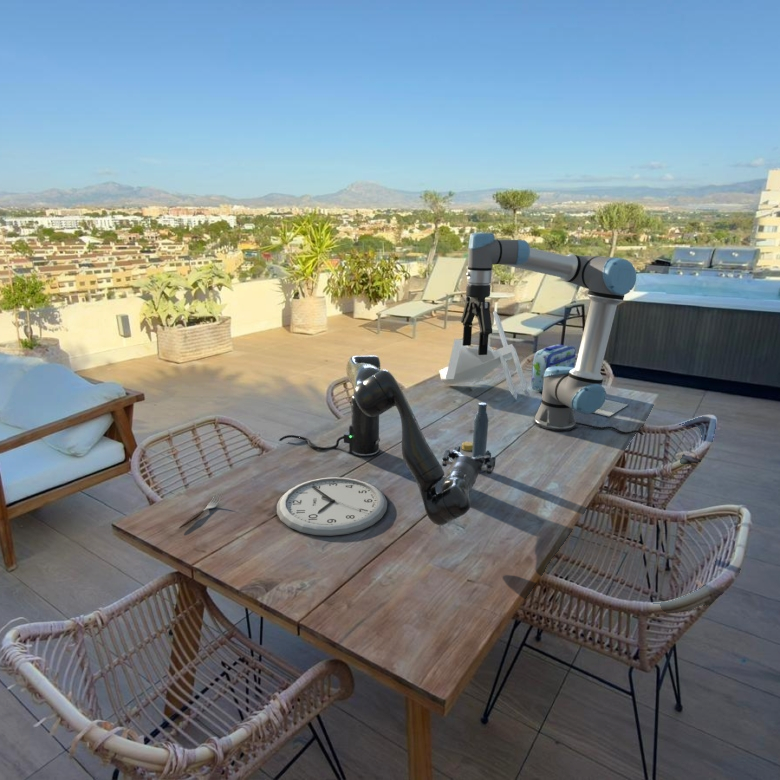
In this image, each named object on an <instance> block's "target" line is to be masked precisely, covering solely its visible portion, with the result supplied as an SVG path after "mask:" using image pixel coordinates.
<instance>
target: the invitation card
mask: <svg viewBox="0 0 780 780" xmlns="http://www.w3.org/2000/svg"><path fill="white" fill-rule="evenodd" d="M628 406H629V404H627V403H623V402H618V401H614V400H609V399H607V398H606V399H605V402H604V404H603V405H602V406H601V408H600V409H597V410H596V411H595V412H593V413H592V414H596V415H600V416H604V417H608V418H609V417H611V416H613V415H614V414H616V413H617V412H619V411H621V410H623V409H624V408H626V407H628Z"/></svg>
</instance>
